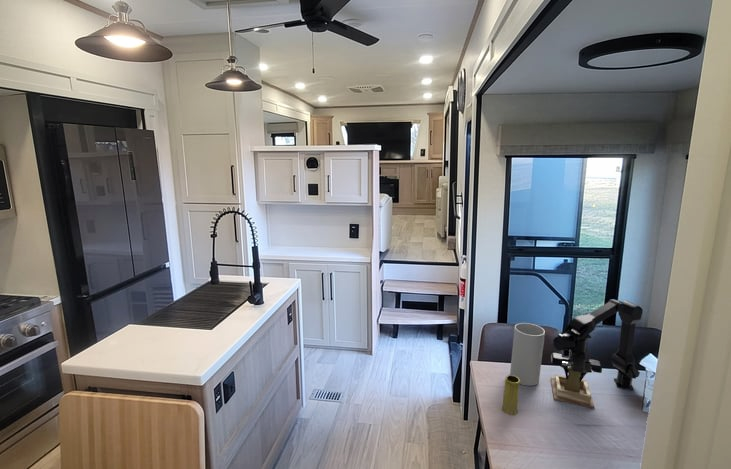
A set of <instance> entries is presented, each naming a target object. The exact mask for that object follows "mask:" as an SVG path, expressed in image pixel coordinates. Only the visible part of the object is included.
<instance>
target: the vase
mask: <svg viewBox="0 0 731 469" xmlns="http://www.w3.org/2000/svg"><path fill="white" fill-rule="evenodd" d="M519 382H520V380H519V378H518V377H516V376H513V375H510V374H509V375H506V377H505V380H504V390H503V396H502V406H501V411H502V412H503V413H505V414H507V415H509V416H514V415H516V414H518V404H519V403H518V402H519V391H520V390H519V389H520V384H519Z"/></svg>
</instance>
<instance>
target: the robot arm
mask: <svg viewBox="0 0 731 469" xmlns="http://www.w3.org/2000/svg"><path fill="white" fill-rule="evenodd" d="M643 312H644V310H643V308H642V307H641V306H640V305H638V304H634V303H633V302H630V301H628V300H624V301H621V300H617V299H614V298H612V299H609V300H608V302H606V303H605V304H603V305H601V306H600V307H598V308H596V309H595V310H593V311H591V312H590V313H588V314H581V315H577V316H575V317H573V318H572V319H571V320H570V321H569V323H568V324H567V326H566V327H565V328H564V330H563V333H558V334H557V336H555V337H554V339H553V340H552V345H553V346H554V349H556V350H557V351H558V352H562V351H568V352H569V353H568V358H567V357H563V355H562V353H557V352H552V353H551V355H550V360H551V364H553V365H554V366H560V368H562V369H563V371H564V376H566V379H568V374H569V373H568V368H569V365H568V364H570V366H571V369H572V371H575V372H576V371H577V372H581V376H579V380H580V381H579V382H581V380H584V377H585V376H586V375H587V374H588V373H589V374H590V373H597V374H602V372H603V366H602V364H601V361H599V360H596V359H590V358H589V360H586V358H585V356H586V347H587V340H588V339H592V336H591V335H590V334H591V333H592V332H594V330H595V329H596V326H598V325H599V324H600V323H602V322H603V321H605V320H606V319H609V318H610V317H611V316H613V315H615V314H616V313H618V316H619V319H620V320H621V325H620V333H619V342H618V350H617V351H616V352H615V353H612V354H611V360H610V361H611V364H612V367H613V369H615V370H616V371H617V373H616V378H613V380H614V381H613V382H614V383H615V385H616V387H618V388H622V389H627V390H631V391H634V390H635V388H634V386H633V379H637V378H638V377H639V376H640V374H641V372H640V371H639V369H637V368H636V360H635V357H634V355H633V347H634V340H635V331H636V325H637V323H638V322H640V320H642V316H643ZM574 331H575V332H574Z"/></svg>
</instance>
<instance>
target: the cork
mask: <svg viewBox="0 0 731 469" xmlns="http://www.w3.org/2000/svg"><path fill="white" fill-rule="evenodd" d="M579 376H581V372H577V371H576V372H575V371H572V369H571V365H570V366H568V379H567V381H566V384H565V387H564V390H568V391H573V392H578V393H580V382H579V381H580V380H579Z"/></svg>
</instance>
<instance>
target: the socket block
mask: <svg viewBox="0 0 731 469" xmlns="http://www.w3.org/2000/svg"><path fill="white" fill-rule="evenodd" d="M566 381H567V379H566V375H560V374H556V373H555V374H554V377H550V383H551V390H552V395H553V396H552V398H553V401H558V402H561V403H566V404H570V405H575V406H580V407H585V408H589V409H593V410H594V409H595V404H594V403H595V402H594V400H593V397H592V394H591V389H590V387H589V385H588V382H587V380H586V379H582V380H581V382H580V393H578V392H573V391H568V390H564V387H565V384H566Z"/></svg>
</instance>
